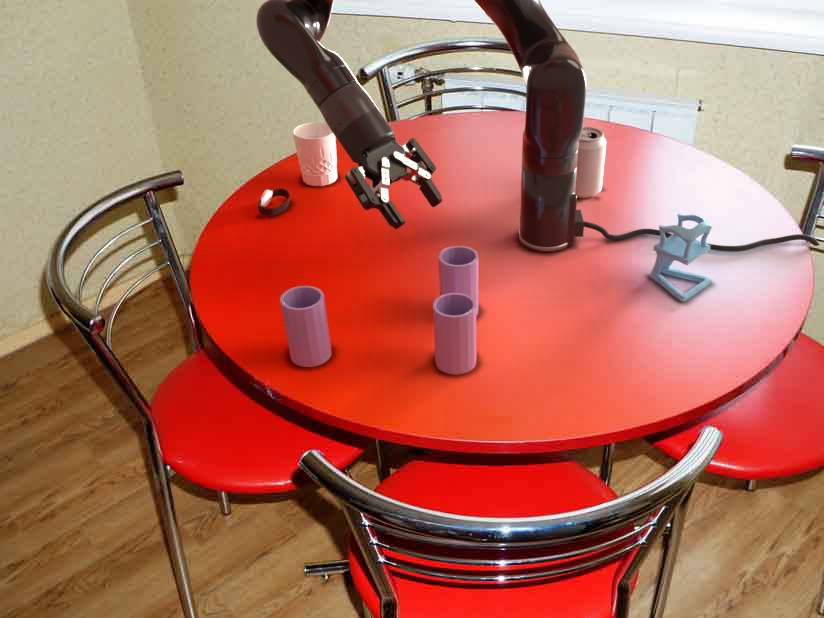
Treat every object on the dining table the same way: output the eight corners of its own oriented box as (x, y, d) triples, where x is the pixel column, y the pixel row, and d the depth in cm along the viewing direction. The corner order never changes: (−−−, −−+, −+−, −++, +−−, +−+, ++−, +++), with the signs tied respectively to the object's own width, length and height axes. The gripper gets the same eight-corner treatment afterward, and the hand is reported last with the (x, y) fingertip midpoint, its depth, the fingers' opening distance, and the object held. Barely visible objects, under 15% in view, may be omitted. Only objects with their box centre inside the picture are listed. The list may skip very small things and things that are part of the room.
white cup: (306, 191, 163) (299, 141, 157) (294, 174, 169) (287, 126, 162) (346, 183, 166) (340, 134, 160) (332, 167, 172) (327, 119, 165)
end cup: (333, 342, 126) (325, 285, 120) (329, 366, 122) (321, 309, 115) (293, 343, 126) (283, 286, 120) (287, 367, 121) (277, 310, 115)
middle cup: (477, 300, 135) (477, 245, 129) (479, 321, 131) (479, 266, 124) (440, 300, 135) (438, 246, 129) (440, 322, 130) (438, 266, 124)
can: (603, 200, 162) (609, 140, 154) (563, 199, 162) (567, 140, 154) (600, 182, 168) (605, 124, 160) (562, 181, 168) (566, 123, 160)
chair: (668, 264, 144) (678, 200, 137) (710, 283, 140) (723, 218, 132) (641, 282, 140) (650, 217, 132) (683, 302, 135) (695, 236, 128)
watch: (276, 197, 161) (273, 179, 159) (297, 202, 160) (294, 184, 158) (252, 215, 156) (249, 197, 153) (274, 220, 154) (271, 202, 152)
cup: (475, 348, 125) (475, 292, 119) (477, 374, 121) (476, 316, 115) (435, 350, 125) (432, 293, 119) (435, 375, 120) (432, 317, 114)
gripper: (332, 125, 118) (400, 223, 120) (401, 94, 127) (463, 186, 129) (310, 151, 124) (375, 244, 126) (377, 120, 133) (437, 207, 135)
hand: (419, 215), depth 127 cm, fingers open, 8 cm apart
